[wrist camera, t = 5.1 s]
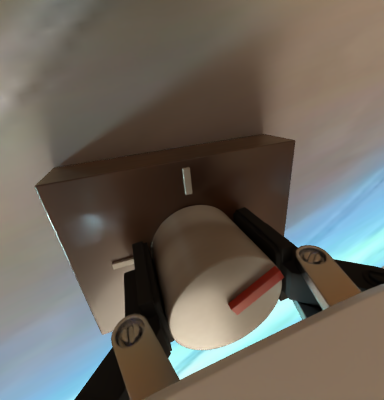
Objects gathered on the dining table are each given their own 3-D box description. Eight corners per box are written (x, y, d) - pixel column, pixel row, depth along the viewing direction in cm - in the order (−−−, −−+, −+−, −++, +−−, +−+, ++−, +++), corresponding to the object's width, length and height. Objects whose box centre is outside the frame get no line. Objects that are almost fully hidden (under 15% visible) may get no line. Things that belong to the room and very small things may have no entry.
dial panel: (104, 297, 16) (101, 338, 13) (53, 167, 11) (32, 187, 8) (257, 249, 19) (281, 274, 16) (263, 133, 14) (297, 140, 12)
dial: (185, 289, 14) (215, 370, 9) (131, 246, 11) (139, 331, 7) (245, 240, 13) (302, 300, 9) (204, 186, 11) (257, 235, 7)
